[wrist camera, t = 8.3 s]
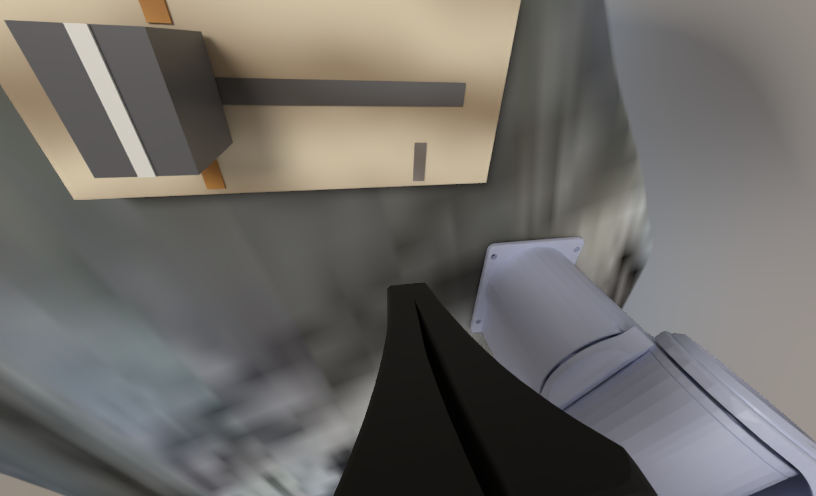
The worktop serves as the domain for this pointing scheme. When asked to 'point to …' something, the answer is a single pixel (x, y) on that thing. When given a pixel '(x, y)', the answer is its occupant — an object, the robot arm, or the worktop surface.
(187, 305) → the worktop surface
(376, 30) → the fader console
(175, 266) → the worktop surface
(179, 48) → the fader knob
